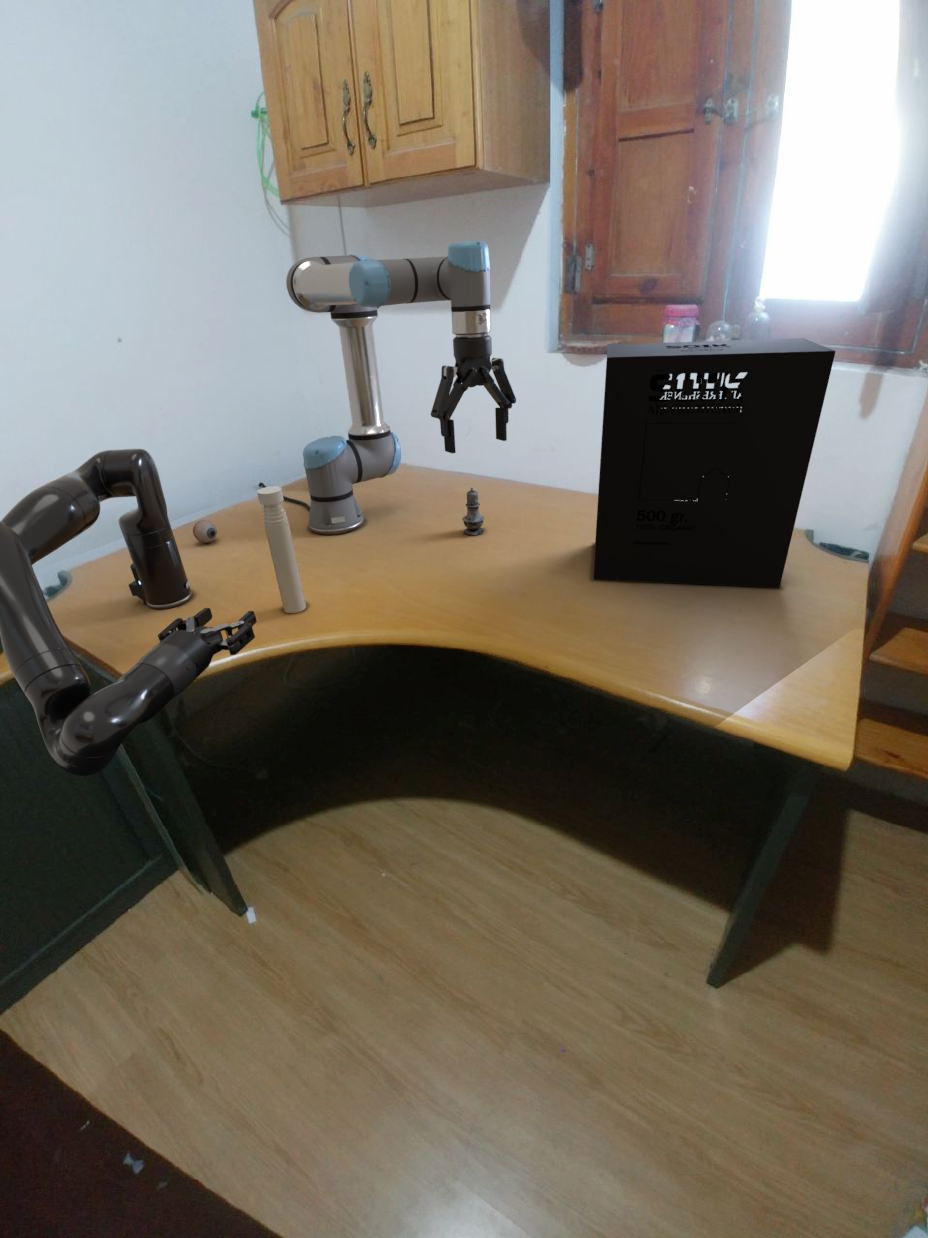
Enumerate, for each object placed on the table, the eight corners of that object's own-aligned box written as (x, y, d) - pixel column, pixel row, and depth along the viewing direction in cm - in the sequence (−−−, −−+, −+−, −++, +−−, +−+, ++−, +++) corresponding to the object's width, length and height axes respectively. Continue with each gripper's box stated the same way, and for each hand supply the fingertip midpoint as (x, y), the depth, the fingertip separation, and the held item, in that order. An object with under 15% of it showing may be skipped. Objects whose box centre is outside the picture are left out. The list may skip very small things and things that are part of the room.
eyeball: (206, 547, 159) (200, 526, 156) (191, 543, 162) (185, 522, 159) (225, 539, 164) (219, 518, 161) (210, 536, 167) (204, 515, 164)
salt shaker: (482, 535, 157) (481, 491, 151) (460, 535, 158) (458, 490, 152) (486, 527, 162) (485, 483, 156) (465, 526, 163) (463, 483, 157)
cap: (279, 504, 114) (277, 493, 113) (256, 505, 114) (253, 494, 113) (286, 496, 118) (284, 485, 117) (264, 497, 118) (261, 486, 117)
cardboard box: (759, 548, 141) (803, 338, 119) (779, 587, 124) (835, 350, 102) (595, 543, 149) (607, 344, 126) (593, 579, 132) (607, 357, 109)
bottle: (302, 613, 126) (277, 495, 113) (281, 613, 126) (253, 496, 113) (308, 602, 130) (285, 487, 117) (287, 602, 130) (261, 488, 117)
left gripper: (139, 682, 94) (201, 629, 108) (220, 690, 91) (273, 635, 105) (123, 641, 90) (189, 592, 104) (206, 648, 87) (263, 597, 101)
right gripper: (429, 342, 108) (437, 460, 118) (533, 329, 120) (532, 437, 131) (407, 340, 113) (417, 454, 124) (508, 328, 125) (510, 432, 136)
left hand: (231, 613), depth 104 cm, fingers open, 8 cm apart
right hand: (476, 445), depth 127 cm, fingers open, 13 cm apart
